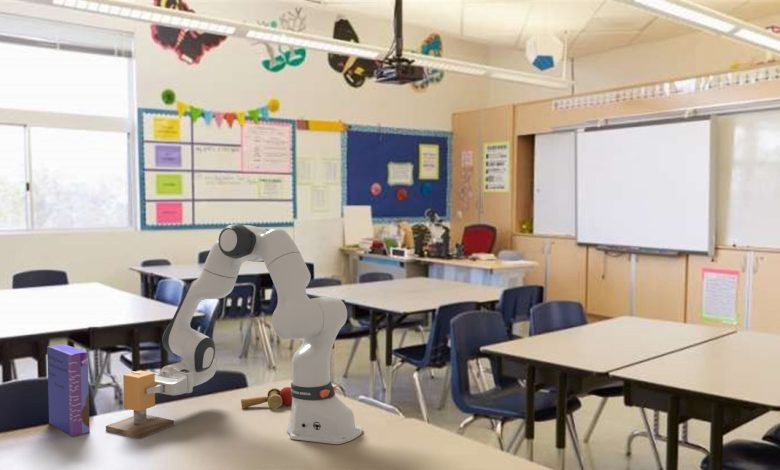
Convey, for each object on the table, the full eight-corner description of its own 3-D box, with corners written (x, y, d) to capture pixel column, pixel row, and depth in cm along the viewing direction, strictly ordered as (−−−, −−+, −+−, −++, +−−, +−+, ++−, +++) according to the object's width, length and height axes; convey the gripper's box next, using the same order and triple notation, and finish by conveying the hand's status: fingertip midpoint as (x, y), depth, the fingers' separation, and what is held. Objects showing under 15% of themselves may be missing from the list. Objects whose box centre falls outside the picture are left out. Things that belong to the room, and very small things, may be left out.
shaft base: (173, 425, 198) (173, 399, 197) (139, 438, 186) (138, 411, 186) (141, 418, 204) (141, 392, 204) (105, 430, 193) (105, 404, 193)
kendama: (243, 416, 210) (298, 404, 215) (240, 396, 211) (295, 385, 215) (243, 413, 218) (296, 402, 222) (240, 394, 218) (293, 383, 223)
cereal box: (89, 432, 192) (87, 351, 191) (72, 436, 188) (70, 354, 187) (65, 419, 203) (63, 343, 202) (49, 423, 200) (47, 345, 199)
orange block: (155, 405, 196) (154, 372, 196) (138, 411, 191) (138, 376, 191) (140, 402, 200) (139, 369, 199) (123, 408, 194) (123, 373, 194)
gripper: (149, 364, 211) (113, 374, 199) (196, 372, 201) (160, 383, 189) (149, 383, 212) (113, 394, 199) (196, 393, 202) (161, 405, 190)
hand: (136, 389), depth 194 cm, fingers closed on orange block, 6 cm apart
